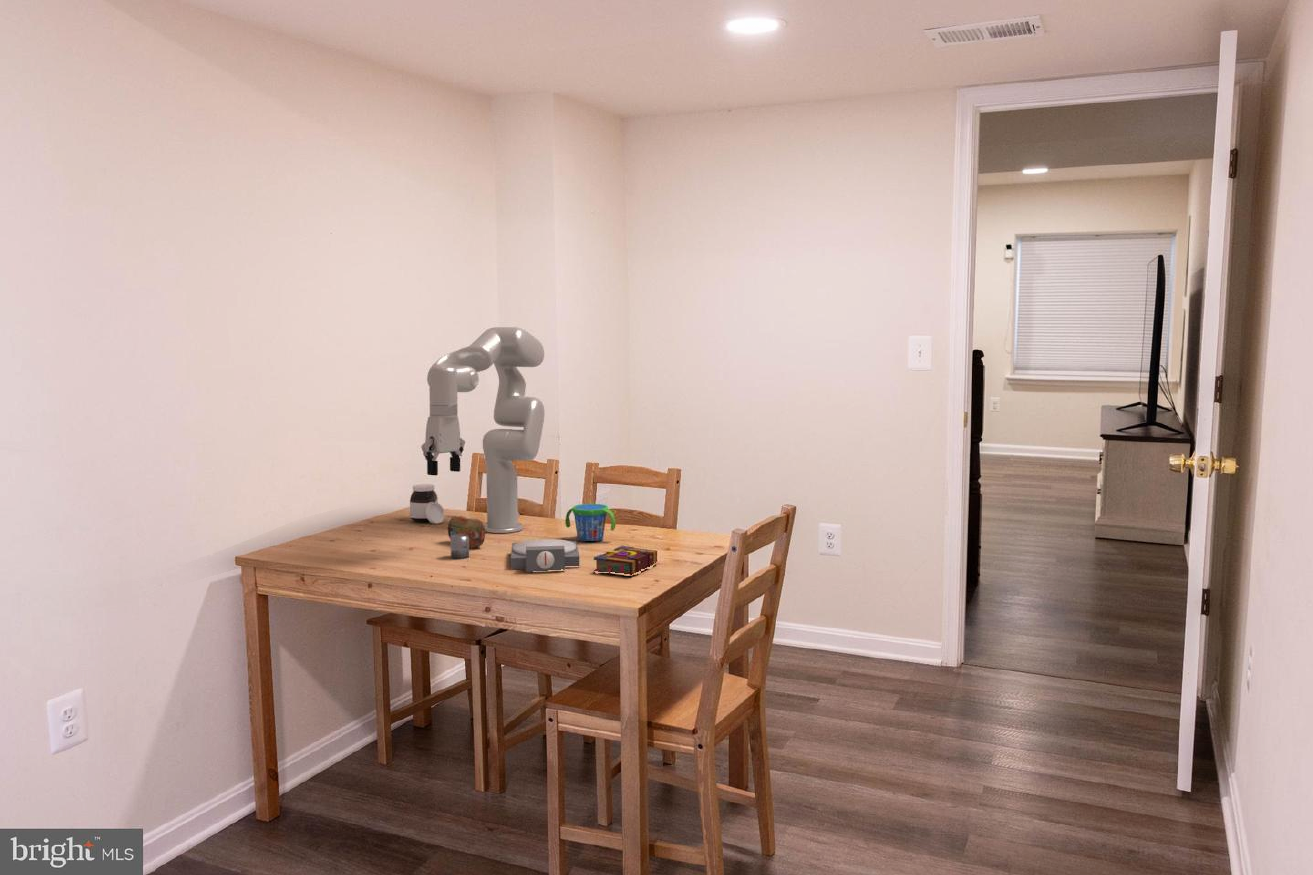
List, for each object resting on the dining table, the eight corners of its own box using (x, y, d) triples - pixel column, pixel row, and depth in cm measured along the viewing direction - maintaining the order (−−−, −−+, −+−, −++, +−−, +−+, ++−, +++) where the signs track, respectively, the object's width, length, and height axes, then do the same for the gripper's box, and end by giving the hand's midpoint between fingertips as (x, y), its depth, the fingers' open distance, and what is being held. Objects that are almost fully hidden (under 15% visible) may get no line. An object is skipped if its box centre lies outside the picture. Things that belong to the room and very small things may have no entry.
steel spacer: (455, 554, 276) (454, 533, 275) (472, 555, 275) (471, 534, 274) (447, 558, 271) (447, 537, 270) (464, 559, 270) (464, 538, 269)
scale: (512, 553, 277) (511, 532, 277) (576, 551, 280) (576, 530, 279) (510, 573, 255) (510, 550, 255) (580, 571, 258) (580, 549, 257)
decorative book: (658, 566, 265) (658, 548, 264) (629, 580, 250) (629, 561, 250) (621, 561, 270) (621, 543, 269) (591, 574, 255) (591, 556, 255)
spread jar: (418, 517, 328) (418, 482, 326) (451, 518, 326) (450, 483, 325) (404, 524, 316) (403, 489, 315) (438, 525, 314) (437, 489, 313)
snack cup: (558, 540, 294) (558, 507, 292) (577, 534, 303) (577, 501, 302) (604, 546, 286) (603, 511, 285) (621, 539, 296) (621, 505, 295)
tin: (447, 542, 291) (446, 514, 290) (456, 540, 294) (455, 512, 293) (478, 550, 281) (477, 521, 280) (487, 548, 283) (486, 519, 282)
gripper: (452, 409, 281) (453, 469, 282) (411, 412, 265) (412, 475, 267) (474, 410, 277) (474, 470, 279) (433, 413, 262) (434, 477, 263)
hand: (444, 473), depth 273 cm, fingers open, 9 cm apart
